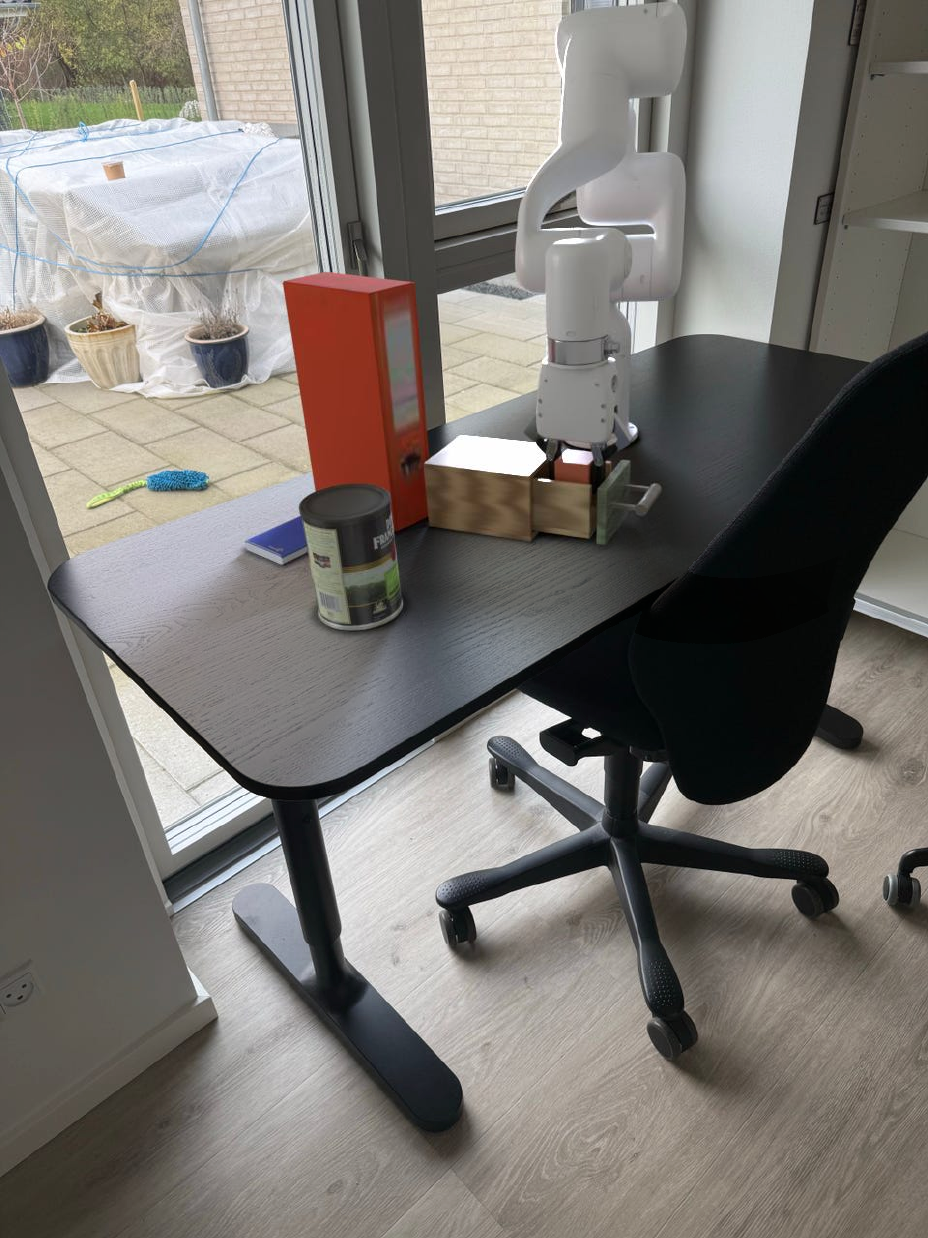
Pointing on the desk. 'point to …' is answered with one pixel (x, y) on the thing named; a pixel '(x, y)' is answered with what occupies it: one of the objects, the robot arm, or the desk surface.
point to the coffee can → (352, 555)
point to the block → (574, 466)
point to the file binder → (362, 385)
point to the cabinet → (483, 486)
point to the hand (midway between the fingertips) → (577, 486)
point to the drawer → (586, 503)
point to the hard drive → (280, 542)
